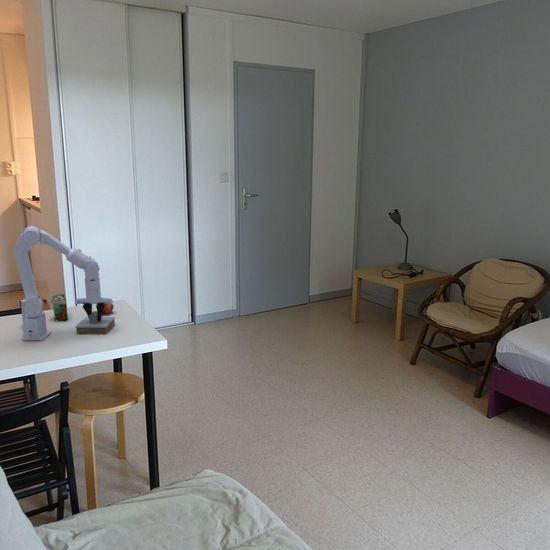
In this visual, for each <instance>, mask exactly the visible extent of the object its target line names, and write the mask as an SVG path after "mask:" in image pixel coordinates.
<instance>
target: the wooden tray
mask: <svg viewBox="0 0 550 550" xmlns="http://www.w3.org/2000/svg"><path fill="white" fill-rule="evenodd" d="M115 325H116V322H115V319H114V320H113V321H112V322H111V323H110V324H109V325H108V326H107V328H75V329H76V330H75V331H76V335H107V334H108V333H109V332H110V331H111V330H112V328H113V327H114V326H115Z"/></svg>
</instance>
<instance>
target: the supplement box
mask: <svg viewBox="0 0 550 550" xmlns="http://www.w3.org/2000/svg"><path fill="white" fill-rule="evenodd" d="M20 305H21V316H22V317H21V318H22V324H23V323H24V321H25V319H26V317H25V314H26V312H25V307H26V301H25V298H24V299H22V300H21V301H20Z"/></svg>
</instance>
